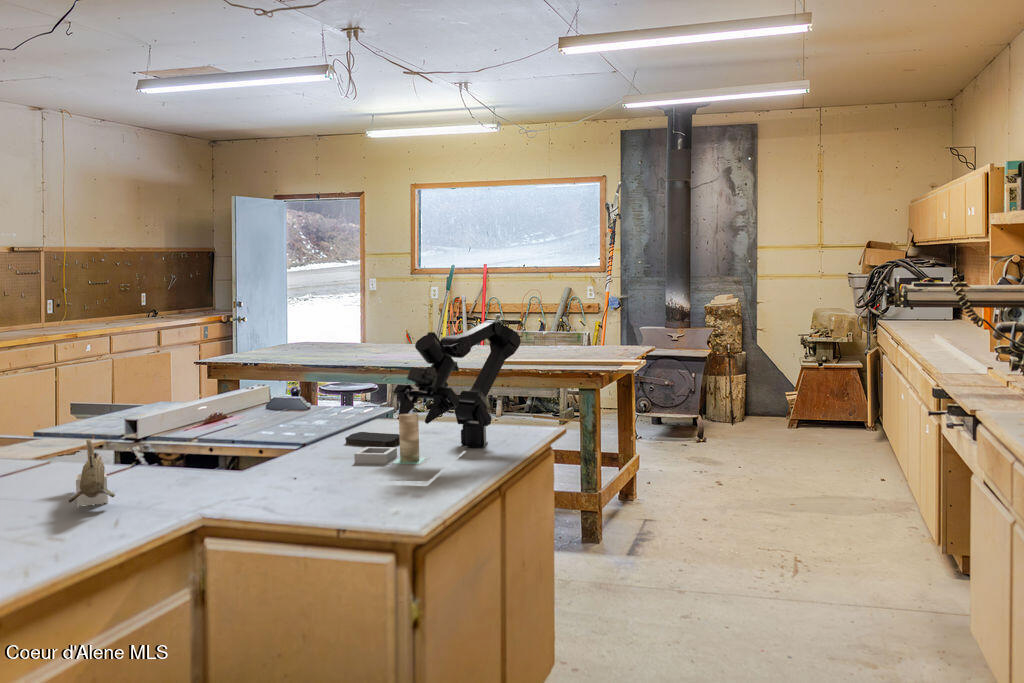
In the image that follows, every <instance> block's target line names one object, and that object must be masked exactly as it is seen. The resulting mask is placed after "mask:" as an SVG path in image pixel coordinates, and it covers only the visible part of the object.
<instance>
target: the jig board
mask: <svg viewBox="0 0 1024 683" xmlns="http://www.w3.org/2000/svg"><path fill="white" fill-rule="evenodd" d="M353 458H354V463H353V464H354V465H391V466H393V465H395V466H422V465H423V464H425V463H426V462H427V461H428V460H430V459H431V456H419V461H417V462H408V463H407V462H401V461H400V456H398V447H395V446H393V447H369V446H364V448H362V449H360V450H357V452H356V451H355V453H354V454H353Z"/></svg>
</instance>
